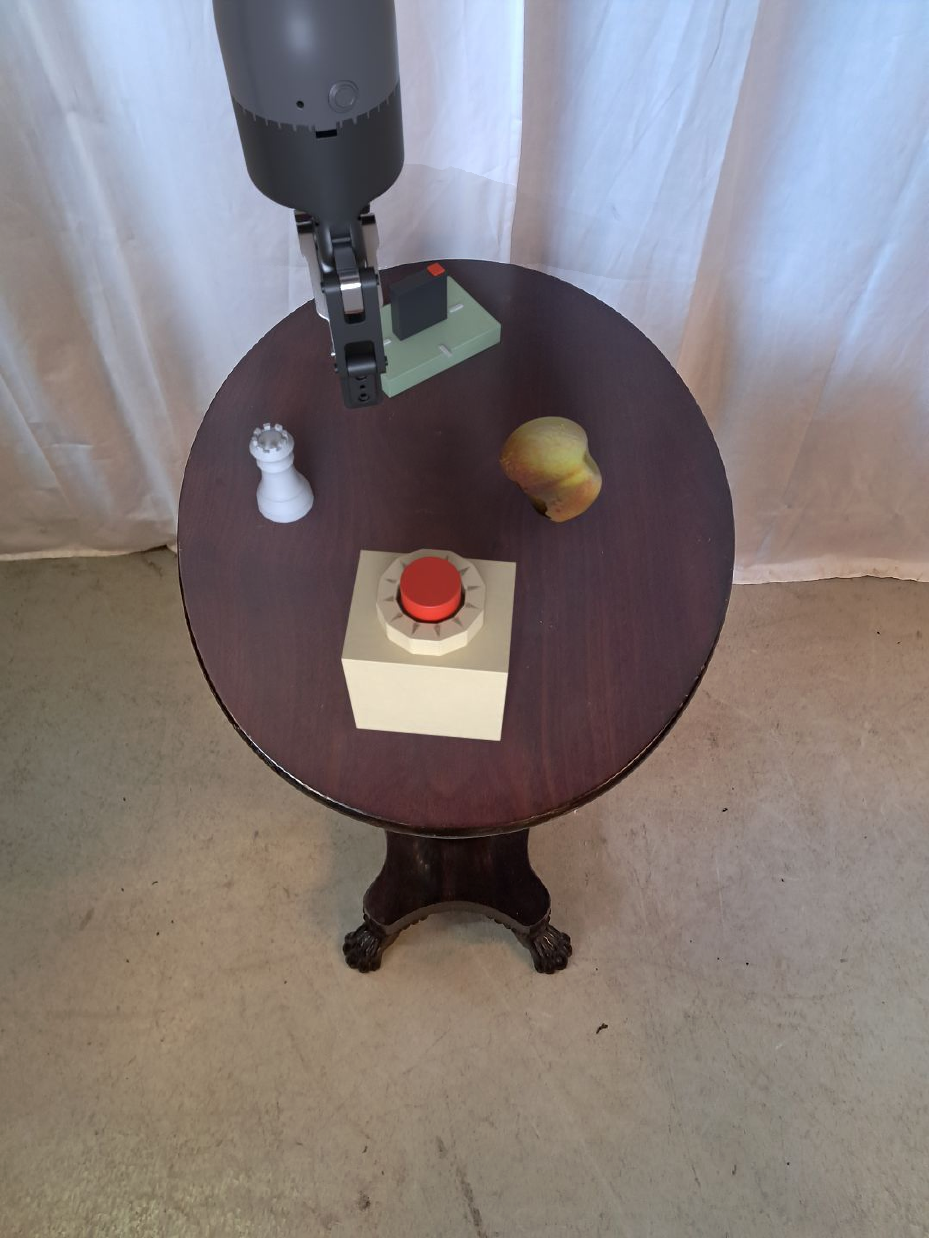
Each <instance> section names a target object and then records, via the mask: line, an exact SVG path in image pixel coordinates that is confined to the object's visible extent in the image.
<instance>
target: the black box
mask: <svg viewBox="0 0 929 1238" xmlns="http://www.w3.org/2000/svg"><path fill="white" fill-rule="evenodd" d="M447 277H448V272H447V270H446V269H444V268H443V267H442V266H441V265H440V264H439V263H438V262H435V263H433V264H431V265H428V266H427V268H424V269H422V270H421V271H418V272H416V273H414V274H412V275H409V276H407V277H405V278H403V279H401V280H399V281H397V282H395V283H393V284H389V285H388V286H389V287H388V290H389V291H388V292H389V304H390V305H391V319H392V332H393V333H394V334H395V335H396V336H397V337H398V339H399V340H400V341H402V340H405V339H407V338H409V337H411V336H413V335H415V334H417V333H419V332H421V331H423V330H425V329H427V328H429V327H431V326H433V325H435V324H437V323H439V322H441V321H444V320H446V319H447Z"/></svg>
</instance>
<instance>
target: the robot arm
mask: <svg viewBox="0 0 929 1238" xmlns="http://www.w3.org/2000/svg"><path fill="white" fill-rule="evenodd" d="M211 2H212V11H213V13H212V14H213V20H214V25H215V26H214V27H215V30H216V36H217V41H218V45H219V50H220V54H221V58H222V64H223V67H224V72H225V76H226V81H227V87H228V90H229V95H230V100H231V104H232V108H233V112H234V117H235V122H236V126H237V131H238V135H239V138H240V144H241V149H242V153H243V158H244V162H245V167H246V171H247V174H248V176H249V179H250V180H251V182H252V184H253V186H254V187H255V188H256V189H257V190H258V191H259V192H260V193H261V194H262V195H263V196H264V197H266V199H267V198H268V199H269V200H270V201H273V202H274V203H276V204H277V205H280V206H282V207H284V208H288V209H293V210H292V211H293V215H294V221H295V228H296V232H297V238H298V244H299V248H300V254H301V257H303V259H305V261H306V262H307V265H308V271H309V277H310V281H311V287H312V288H311V289H312V293H313V296H314V303H315V304H314V305H315V309H316V312H317V315H319V316H320V317H321V318H323V319H325V320H327V322H328V326H329V332H330V337H331V345H332V347H330V349H329V350H330V355H331V358H333V359H334V363H333V369H334V373H335V374H337V375H338V380H339V381H340V387H341V394H342V400H343V405H344V407H345V408H347V409H349V410H355V409H363V408H367V407H374V406H378V405H381V404H382V402H383V401H384V391H383V390H382V383H381V374H383V373H386V366H388V360H387V356H385V353H384V344H383V335H382V325H381V316H380V309H381V308H382V307H384V296H383V291H382V283H381V276H380V271H379V263H378V256H377V251H378V249H379V247H380V237H379V230H378V225H377V224H378V223H377V219H376V215H375V212H371V203H372V202H373V201H374V200H376V199H378V198H380V197H381V196H382V195H383V194H385V193H386V192H387V191H389V190H390V189H391V188H392V186H393V185H394V184H395V183H396V182H397V180H398V179H399V177H400V175H401V173H402V171H403V168H404V164H405V155H406V154H405V142H404V141H405V140H404V126H403V125H404V123H403V107H402V93H401V92H402V91H401V89H402V88H401V75H400V73H401V72H400V58H399V44H398V43H399V42H398V27H397V15H396V3H395V0H211Z"/></svg>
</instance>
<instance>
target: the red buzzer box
mask: <svg viewBox="0 0 929 1238" xmlns="http://www.w3.org/2000/svg"><path fill="white" fill-rule="evenodd" d="M423 557H439V558H442V559H445V560H447V561H449V562H450V563H451V564H453V565H454V566H455V568H456V569H457V570H458V572H459V574H460V577H461V600H460V604H459V606H458V608H457V609H456V611H455V612H454V613H453V614H452V615H451V616H449V617H448V618H446V619H444V620H441V621H437V622H425V621H421V620H418V619H416V618H414V617H412V616H411V615H410V614H409V613H408V612H407V611H406V610H405V608H404V607H403V604H402V600H401V589H400V578H401V575H402V573H403V571H404V569H405V568H406V567H407V566H408V565H409V564H410V563H412V562H413V561H415V560H417V559H420V558H423ZM516 573H517V562H515V561H502V560H488V559H477V558H465V557H462V556H460V555H459V554H457V553H456V552H453V551H451V550H442V549H431V548H420V549H417V550H415V551H412V552H410V553H403V552H391V551H379V550H366V549H360V552H359V558H358V564H357V569H356V575H355V581H354V585H353V592H352V597H351V601H350V602H351V603H350V609H349V613H348V620H347V624H346V631H345V636H344V640H343V641H344V642H343V647H342V653H341V658H340V659H341V664H342V668H343V673H344V677H345V682H346V686H347V690H348V696H349V700H350V705H351V708H352V709H351V710H352V712H353V718H354V722H355V727H356V729H360V730H361V729H362V730H374V731H384V732H385V731H386V732H395V733H396V732H397V733H407V734H408V733H409V734H419V735H429V736H430V735H431V736H440V737H453V738H463V739H475V740H487V741H498V742H500V741H501V739H502V732H503V731H502V730H503V729H502V728H503V722H504V713H505V702H506V694H507V686H508V677H509V668H510V667H509V666H510V653H511V642H512V641H511V640H512V627H513V613H514V601H515V599H514V598H515V584H516Z"/></svg>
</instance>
